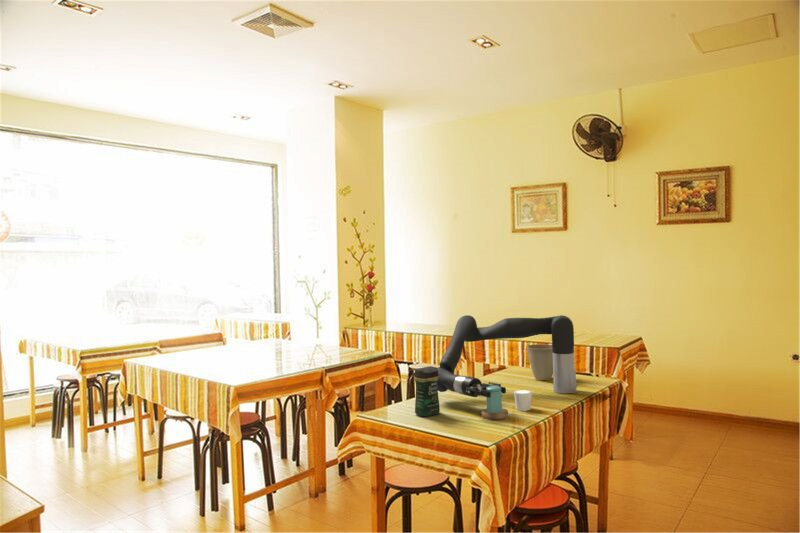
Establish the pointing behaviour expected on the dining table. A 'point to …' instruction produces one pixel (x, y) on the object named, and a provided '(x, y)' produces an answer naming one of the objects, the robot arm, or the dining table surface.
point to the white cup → (523, 400)
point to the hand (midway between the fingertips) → (497, 392)
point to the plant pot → (541, 360)
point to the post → (495, 415)
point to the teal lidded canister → (494, 400)
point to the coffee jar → (426, 391)
